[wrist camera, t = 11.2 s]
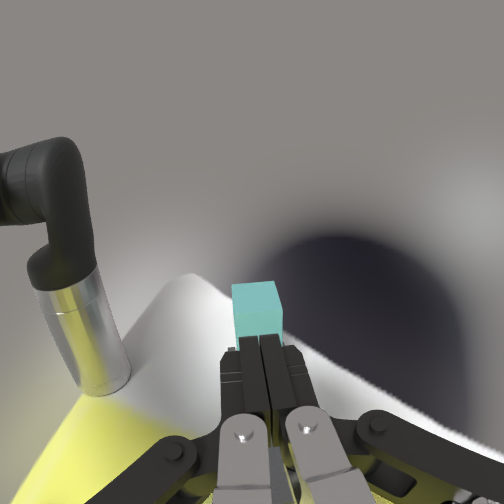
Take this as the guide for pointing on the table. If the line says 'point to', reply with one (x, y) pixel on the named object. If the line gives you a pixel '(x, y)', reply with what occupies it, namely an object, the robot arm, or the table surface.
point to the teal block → (256, 310)
